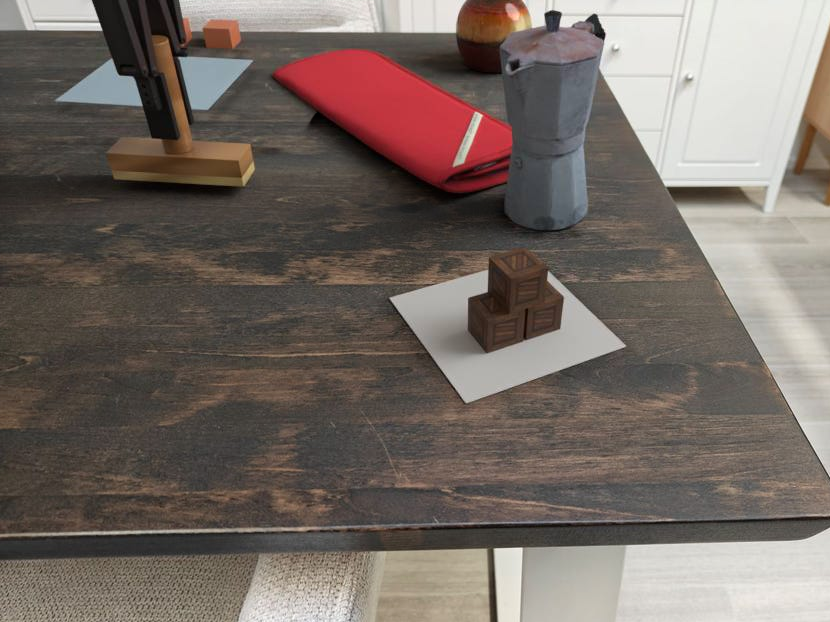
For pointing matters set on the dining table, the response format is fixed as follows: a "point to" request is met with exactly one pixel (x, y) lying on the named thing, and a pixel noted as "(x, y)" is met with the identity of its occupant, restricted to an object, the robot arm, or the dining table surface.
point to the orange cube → (187, 31)
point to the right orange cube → (221, 34)
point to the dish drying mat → (404, 118)
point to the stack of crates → (504, 325)
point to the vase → (488, 30)
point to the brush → (179, 146)
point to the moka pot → (549, 119)
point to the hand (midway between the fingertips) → (173, 129)
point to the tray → (108, 87)
